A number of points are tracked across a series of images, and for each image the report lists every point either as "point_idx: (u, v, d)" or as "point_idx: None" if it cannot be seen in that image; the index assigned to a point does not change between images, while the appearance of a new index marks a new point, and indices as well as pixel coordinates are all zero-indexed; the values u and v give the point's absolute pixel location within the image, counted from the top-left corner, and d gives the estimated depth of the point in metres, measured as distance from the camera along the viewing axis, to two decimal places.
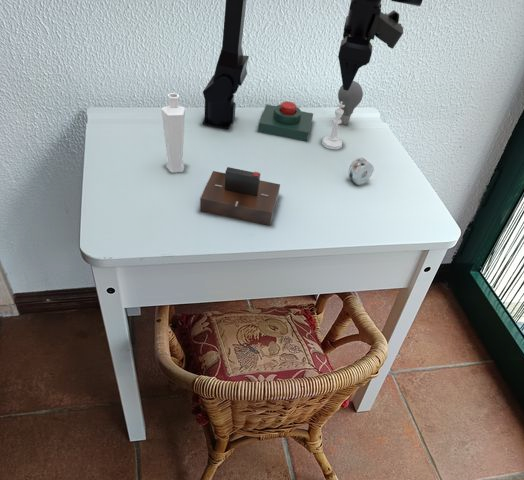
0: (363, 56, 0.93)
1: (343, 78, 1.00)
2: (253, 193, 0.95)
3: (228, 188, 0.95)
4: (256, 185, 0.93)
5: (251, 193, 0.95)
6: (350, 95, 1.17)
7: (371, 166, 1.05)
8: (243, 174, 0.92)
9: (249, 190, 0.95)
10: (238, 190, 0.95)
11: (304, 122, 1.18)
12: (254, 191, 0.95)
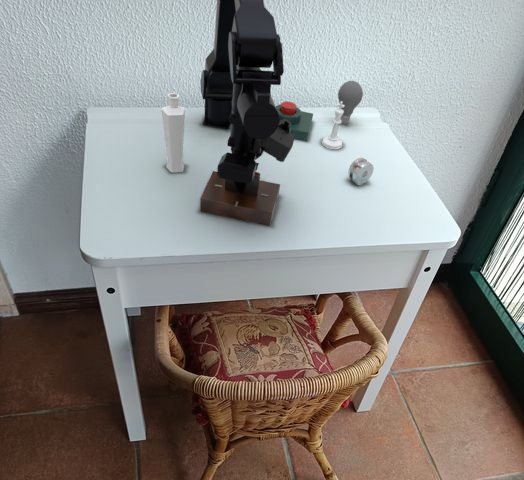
0: (243, 177, 0.83)
1: (235, 181, 0.92)
2: (253, 193, 0.95)
3: (228, 188, 0.95)
4: (256, 185, 0.93)
5: (251, 193, 0.95)
6: (350, 95, 1.17)
7: (371, 166, 1.05)
8: None
9: (249, 190, 0.95)
10: None
11: (304, 122, 1.18)
12: (254, 191, 0.95)
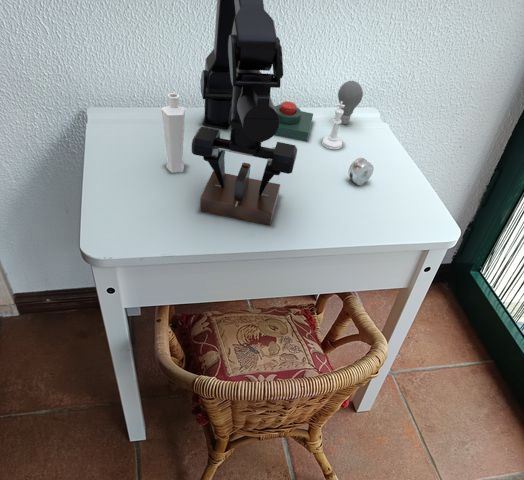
0: None
1: (265, 186, 0.93)
2: (248, 182, 0.97)
3: (243, 196, 0.94)
4: (249, 173, 0.96)
5: (247, 183, 0.97)
6: (350, 95, 1.17)
7: (371, 166, 1.05)
8: (246, 172, 0.93)
9: (247, 182, 0.96)
10: (245, 190, 0.95)
11: (304, 122, 1.18)
12: (248, 180, 0.97)
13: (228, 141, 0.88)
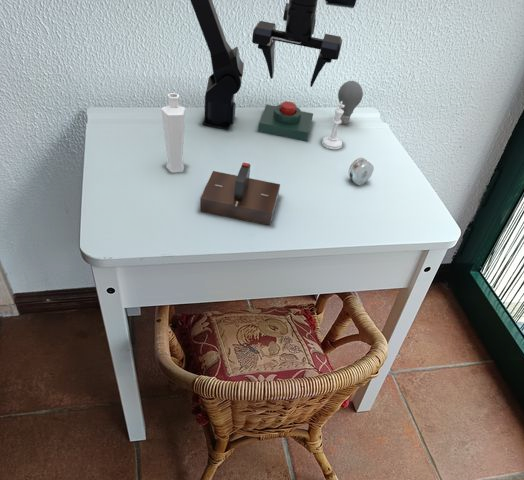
0: None
1: (316, 77, 1.08)
2: (248, 182, 0.97)
3: (243, 196, 0.94)
4: (249, 173, 0.96)
5: (247, 183, 0.97)
6: (350, 95, 1.17)
7: (371, 166, 1.05)
8: (246, 172, 0.93)
9: (247, 182, 0.96)
10: (245, 190, 0.95)
11: (304, 122, 1.18)
12: (248, 180, 0.97)
13: (283, 32, 1.03)
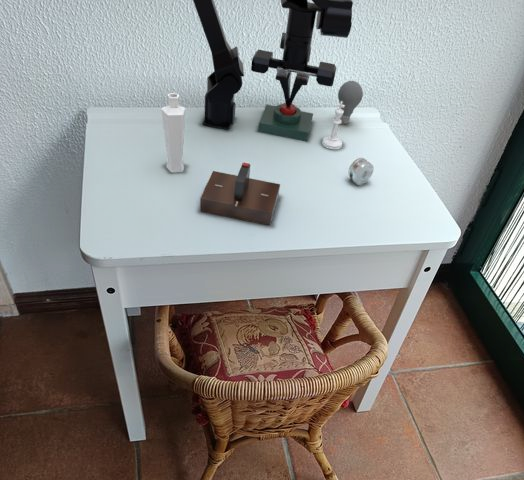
0: None
1: None
2: (248, 182, 0.97)
3: (243, 196, 0.94)
4: (249, 173, 0.96)
5: (247, 183, 0.97)
6: (350, 95, 1.17)
7: (371, 166, 1.05)
8: (246, 172, 0.93)
9: (247, 182, 0.96)
10: (245, 190, 0.95)
11: (304, 122, 1.18)
12: (248, 180, 0.97)
13: (280, 60, 1.09)
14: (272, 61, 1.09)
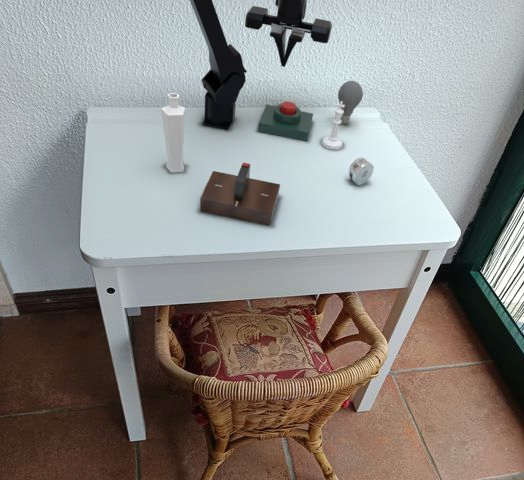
0: None
1: (288, 57, 1.12)
2: (248, 182, 0.97)
3: (243, 196, 0.94)
4: (249, 173, 0.96)
5: (247, 183, 0.97)
6: (350, 95, 1.17)
7: (371, 166, 1.05)
8: (246, 172, 0.93)
9: (247, 182, 0.96)
10: (245, 190, 0.95)
11: (304, 122, 1.18)
12: (248, 180, 0.97)
13: (275, 17, 1.07)
14: (266, 17, 1.07)
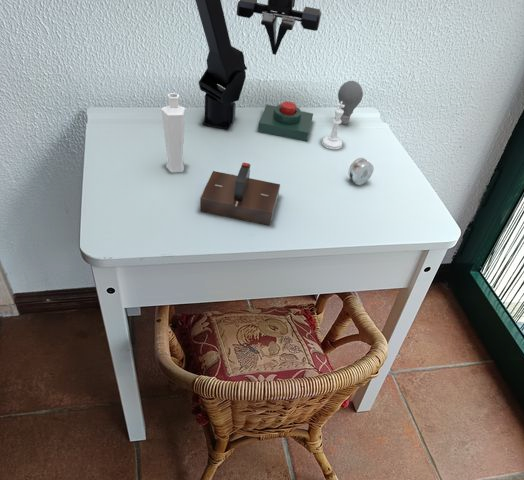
0: None
1: (279, 45, 1.15)
2: (248, 182, 0.97)
3: (243, 196, 0.94)
4: (249, 173, 0.96)
5: (247, 183, 0.97)
6: (350, 95, 1.17)
7: (371, 166, 1.05)
8: (246, 172, 0.93)
9: (247, 182, 0.96)
10: (245, 190, 0.95)
11: (304, 122, 1.18)
12: (248, 180, 0.97)
13: (266, 5, 1.10)
14: (257, 6, 1.10)
